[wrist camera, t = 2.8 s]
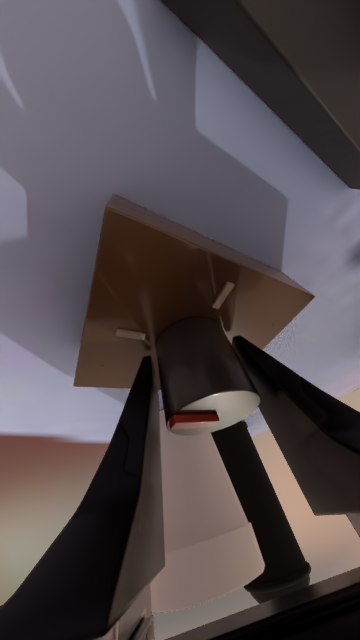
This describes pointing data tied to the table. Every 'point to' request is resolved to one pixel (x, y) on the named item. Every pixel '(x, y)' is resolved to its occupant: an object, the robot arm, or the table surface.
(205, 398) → the dial
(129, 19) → the table surface
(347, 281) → the table surface
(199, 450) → the foam cup
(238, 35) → the push button box
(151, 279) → the dial panel
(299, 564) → the aerosol can
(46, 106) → the table surface
